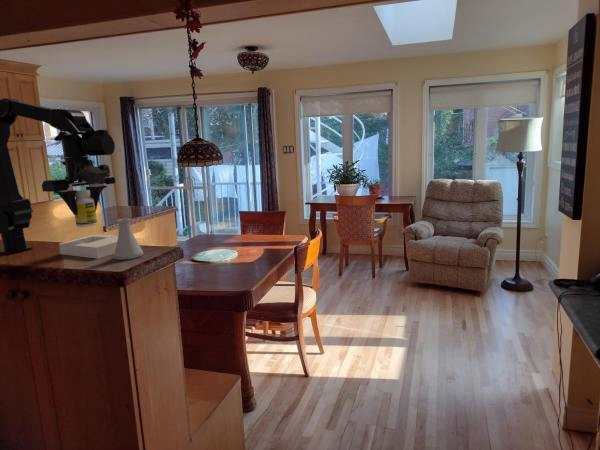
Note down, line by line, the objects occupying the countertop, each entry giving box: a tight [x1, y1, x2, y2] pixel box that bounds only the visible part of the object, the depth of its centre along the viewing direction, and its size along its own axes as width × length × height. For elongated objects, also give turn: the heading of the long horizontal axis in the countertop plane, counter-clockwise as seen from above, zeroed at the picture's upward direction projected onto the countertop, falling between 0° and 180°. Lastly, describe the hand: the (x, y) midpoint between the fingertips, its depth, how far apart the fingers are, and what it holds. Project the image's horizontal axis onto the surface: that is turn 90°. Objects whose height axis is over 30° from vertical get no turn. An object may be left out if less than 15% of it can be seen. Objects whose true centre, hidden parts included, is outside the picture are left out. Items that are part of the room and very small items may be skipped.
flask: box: [113, 217, 144, 261], centre depth 114 cm, size 7×7×10 cm
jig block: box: [58, 233, 119, 260], centre depth 124 cm, size 16×12×3 cm
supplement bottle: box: [74, 189, 98, 228], centre depth 124 cm, size 5×5×10 cm
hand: (85, 213), depth 124 cm, fingers closed on supplement bottle, 5 cm apart
